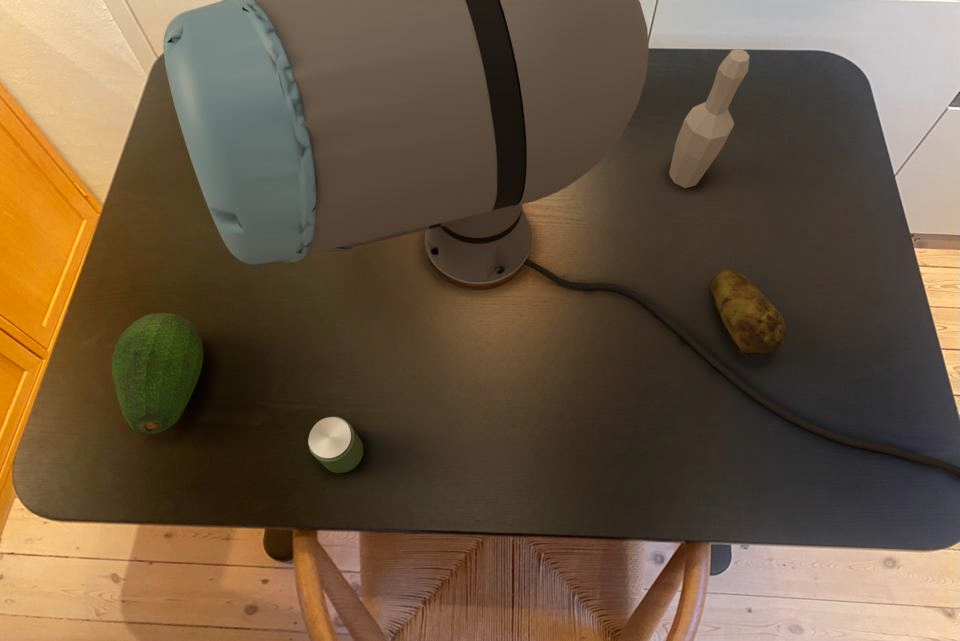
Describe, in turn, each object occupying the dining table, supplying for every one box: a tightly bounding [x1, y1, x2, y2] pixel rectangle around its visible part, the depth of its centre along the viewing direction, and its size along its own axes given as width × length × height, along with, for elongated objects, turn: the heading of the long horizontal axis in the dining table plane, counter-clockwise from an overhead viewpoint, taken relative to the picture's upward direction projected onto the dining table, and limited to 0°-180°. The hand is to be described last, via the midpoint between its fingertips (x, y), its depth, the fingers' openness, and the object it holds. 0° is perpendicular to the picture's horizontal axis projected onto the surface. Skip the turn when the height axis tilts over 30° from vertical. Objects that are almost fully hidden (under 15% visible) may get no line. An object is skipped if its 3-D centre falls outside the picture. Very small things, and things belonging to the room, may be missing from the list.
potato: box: [710, 268, 787, 357], centre depth 78 cm, size 8×13×8 cm, turn 171°
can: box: [307, 416, 364, 474], centre depth 71 cm, size 5×5×6 cm
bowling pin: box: [668, 48, 751, 189], centre depth 83 cm, size 6×6×22 cm
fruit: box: [111, 312, 204, 435], centre depth 73 cm, size 15×10×10 cm, turn 1°
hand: (353, 143), depth 93 cm, fingers closed
